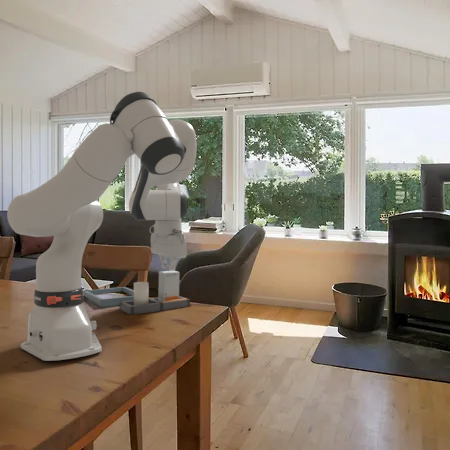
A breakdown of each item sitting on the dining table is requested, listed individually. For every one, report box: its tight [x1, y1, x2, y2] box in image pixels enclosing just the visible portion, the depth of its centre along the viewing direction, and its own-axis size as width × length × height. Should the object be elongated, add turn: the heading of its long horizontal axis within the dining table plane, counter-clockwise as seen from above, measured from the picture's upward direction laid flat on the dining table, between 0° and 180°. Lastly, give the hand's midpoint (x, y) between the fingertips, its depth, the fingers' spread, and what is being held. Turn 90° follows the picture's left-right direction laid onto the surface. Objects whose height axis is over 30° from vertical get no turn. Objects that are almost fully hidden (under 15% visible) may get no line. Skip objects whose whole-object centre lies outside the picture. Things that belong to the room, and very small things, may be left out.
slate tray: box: [83, 286, 134, 309], centre depth 165 cm, size 20×16×3 cm
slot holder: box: [118, 295, 191, 316], centre depth 154 cm, size 9×22×3 cm, turn 124°
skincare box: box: [157, 270, 180, 302], centre depth 156 cm, size 6×4×12 cm
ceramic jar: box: [133, 281, 150, 306], centre depth 151 cm, size 5×5×9 cm
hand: (168, 269), depth 156 cm, fingers open, 4 cm apart
